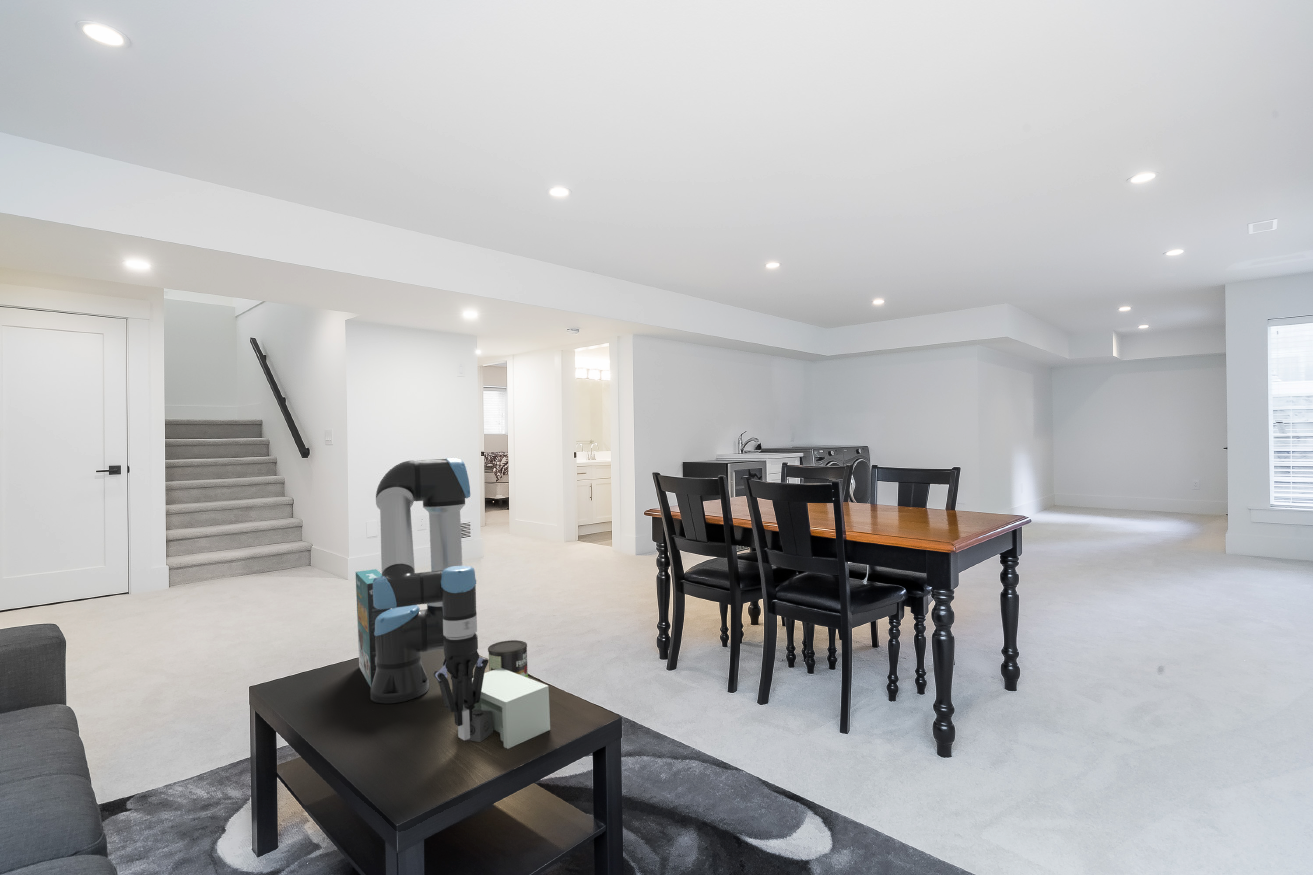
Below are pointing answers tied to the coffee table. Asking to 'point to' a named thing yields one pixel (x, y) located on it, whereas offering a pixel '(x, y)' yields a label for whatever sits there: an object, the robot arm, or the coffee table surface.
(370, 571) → the cake mix box
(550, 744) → the coffee table surface
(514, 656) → the coffee can
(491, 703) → the shelf
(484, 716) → the dice cube
